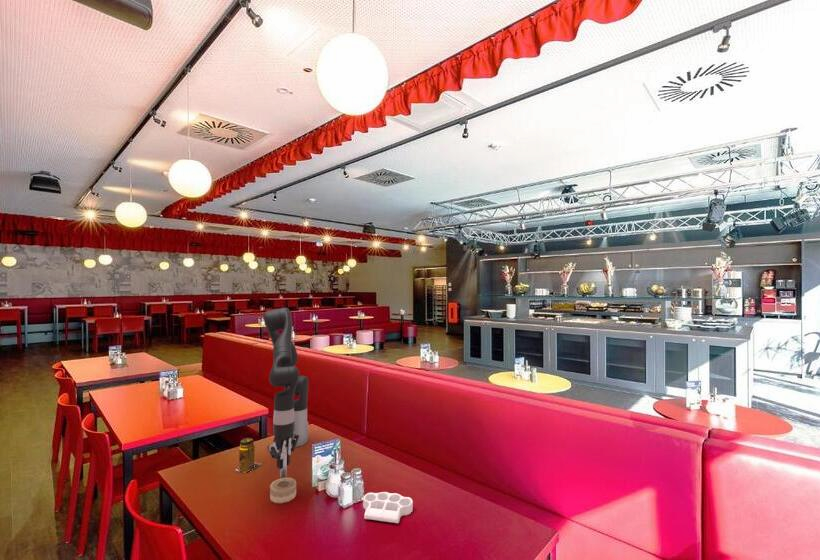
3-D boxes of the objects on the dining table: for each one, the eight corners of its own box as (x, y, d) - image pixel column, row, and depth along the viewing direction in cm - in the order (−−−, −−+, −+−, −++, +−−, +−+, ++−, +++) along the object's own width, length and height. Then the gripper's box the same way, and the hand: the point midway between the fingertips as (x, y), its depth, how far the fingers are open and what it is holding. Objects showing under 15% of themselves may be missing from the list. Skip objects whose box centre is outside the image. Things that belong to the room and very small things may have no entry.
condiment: (234, 470, 159) (234, 442, 159) (249, 461, 167) (249, 434, 167) (247, 473, 156) (248, 444, 156) (262, 464, 164) (262, 436, 164)
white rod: (283, 473, 142) (283, 441, 142) (288, 475, 140) (288, 442, 140) (278, 476, 139) (278, 443, 140) (283, 478, 138) (283, 445, 138)
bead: (284, 487, 146) (284, 475, 146) (300, 493, 142) (301, 481, 142) (265, 498, 138) (265, 486, 138) (282, 505, 134) (282, 493, 134)
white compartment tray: (355, 520, 126) (368, 496, 141) (407, 528, 123) (415, 502, 137) (355, 510, 127) (368, 487, 141) (407, 517, 123) (415, 493, 137)
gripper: (290, 412, 148) (290, 456, 148) (261, 424, 136) (261, 472, 136) (304, 416, 144) (304, 461, 144) (276, 428, 132) (275, 477, 132)
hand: (283, 466), depth 140 cm, fingers closed on white rod, 2 cm apart
